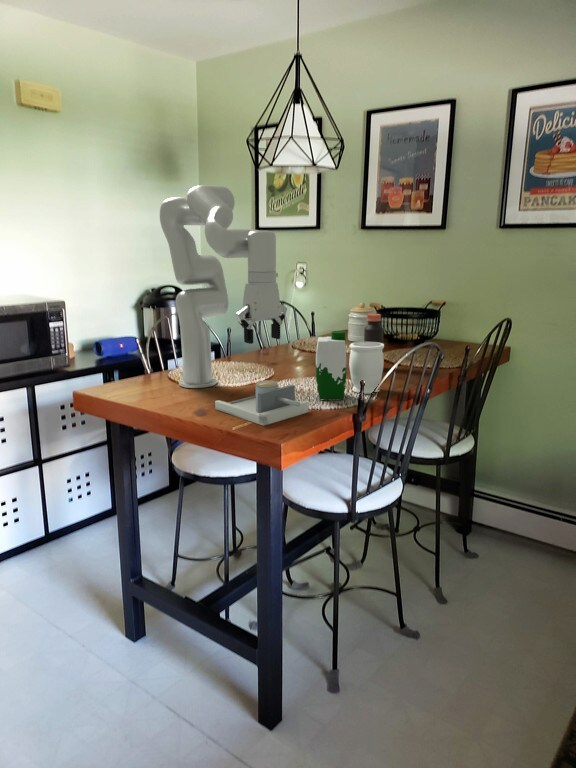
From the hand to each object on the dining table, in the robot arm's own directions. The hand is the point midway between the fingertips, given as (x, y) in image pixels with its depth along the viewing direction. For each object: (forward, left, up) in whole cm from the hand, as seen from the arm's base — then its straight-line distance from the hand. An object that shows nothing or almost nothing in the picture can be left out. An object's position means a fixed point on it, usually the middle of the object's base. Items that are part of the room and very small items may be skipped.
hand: (262, 340), depth 157 cm
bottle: (-9, +61, -20) cm, 65 cm away
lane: (+1, -2, -20) cm, 20 cm away
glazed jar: (+4, -2, -19) cm, 19 cm away
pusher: (+12, -2, -19) cm, 22 cm away
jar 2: (+9, +35, -20) cm, 41 cm away
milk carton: (+6, +22, -20) cm, 30 cm away
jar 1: (-51, +105, -20) cm, 119 cm away
